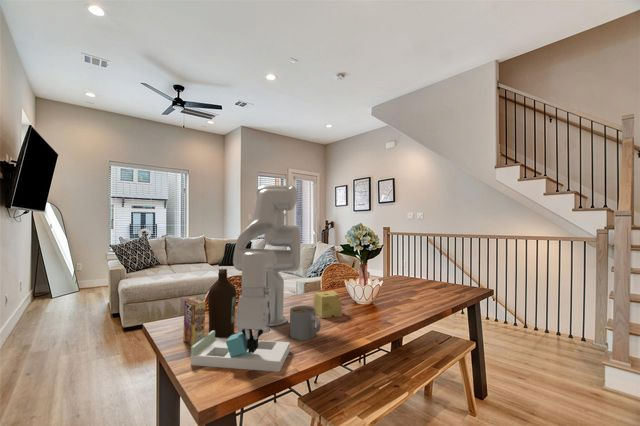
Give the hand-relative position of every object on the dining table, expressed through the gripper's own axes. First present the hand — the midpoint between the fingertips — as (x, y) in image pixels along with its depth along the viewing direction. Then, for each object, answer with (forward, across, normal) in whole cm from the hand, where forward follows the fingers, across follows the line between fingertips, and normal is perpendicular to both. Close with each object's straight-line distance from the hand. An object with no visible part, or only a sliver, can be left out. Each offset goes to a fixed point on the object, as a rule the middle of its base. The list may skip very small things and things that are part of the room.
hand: (252, 350), depth 93 cm
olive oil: (+4, +20, -23) cm, 31 cm away
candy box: (+4, +26, -13) cm, 30 cm away
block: (0, +4, 0) cm, 4 cm away
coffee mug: (+4, -13, -25) cm, 28 cm away
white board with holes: (+4, +4, -4) cm, 7 cm away
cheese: (+4, -19, -53) cm, 56 cm away
